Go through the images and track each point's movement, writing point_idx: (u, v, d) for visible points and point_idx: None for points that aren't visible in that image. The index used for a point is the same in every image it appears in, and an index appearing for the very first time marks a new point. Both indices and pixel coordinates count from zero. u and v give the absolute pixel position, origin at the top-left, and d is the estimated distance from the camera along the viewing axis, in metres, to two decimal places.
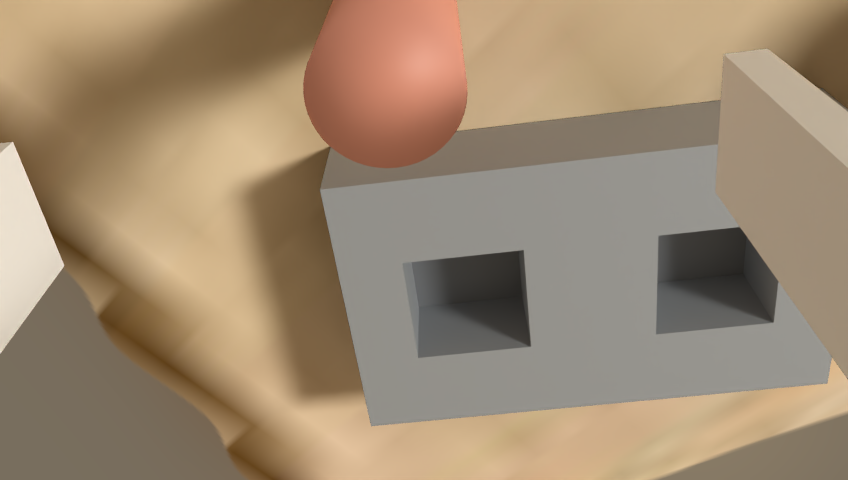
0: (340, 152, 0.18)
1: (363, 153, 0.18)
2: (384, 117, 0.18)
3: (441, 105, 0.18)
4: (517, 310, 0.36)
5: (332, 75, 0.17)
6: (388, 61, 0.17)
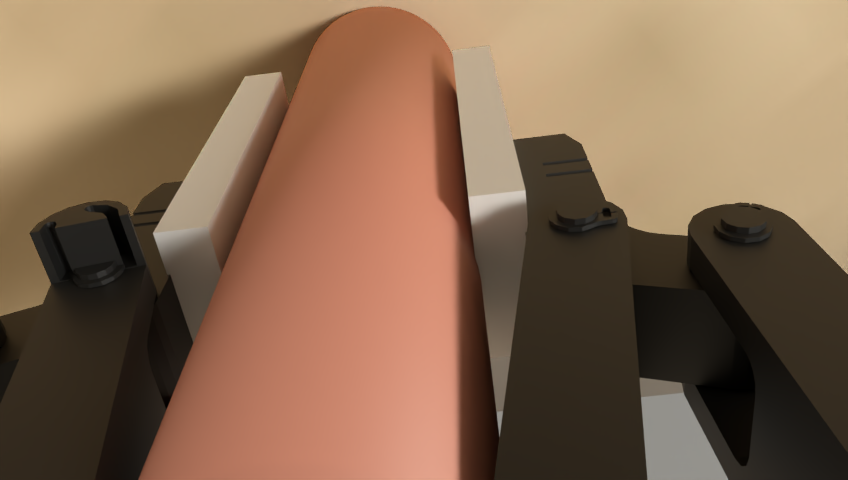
0: None
1: None
2: None
3: None
4: None
5: None
6: None
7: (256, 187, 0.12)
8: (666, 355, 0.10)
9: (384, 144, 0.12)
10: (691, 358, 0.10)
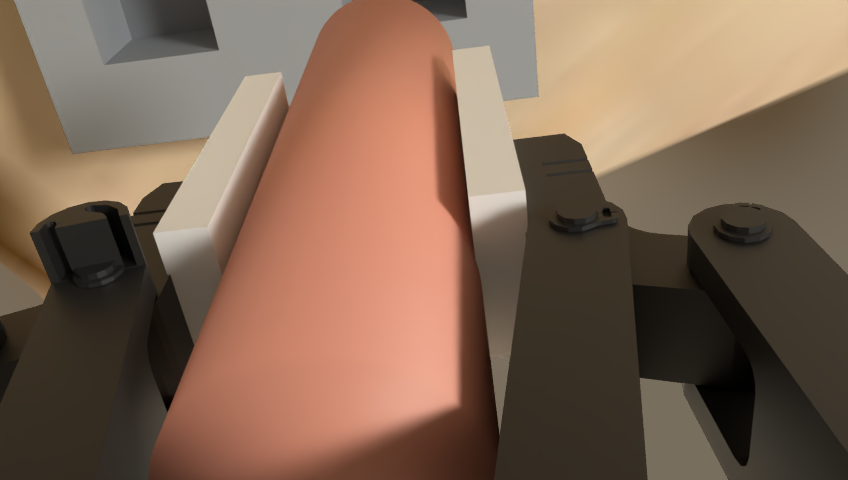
0: None
1: None
2: None
3: None
4: None
5: (210, 468, 0.08)
6: (331, 444, 0.08)
7: (271, 154, 0.13)
8: (667, 356, 0.10)
9: (388, 112, 0.13)
10: (692, 357, 0.10)
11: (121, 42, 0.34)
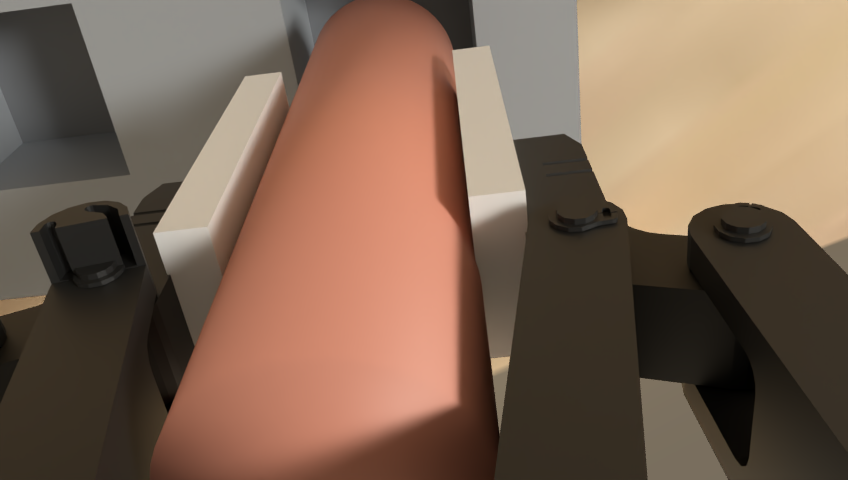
0: None
1: None
2: None
3: None
4: None
5: (210, 469, 0.08)
6: (331, 445, 0.08)
7: (271, 154, 0.14)
8: (666, 355, 0.10)
9: (388, 112, 0.13)
10: (692, 357, 0.10)
11: (2, 152, 0.25)
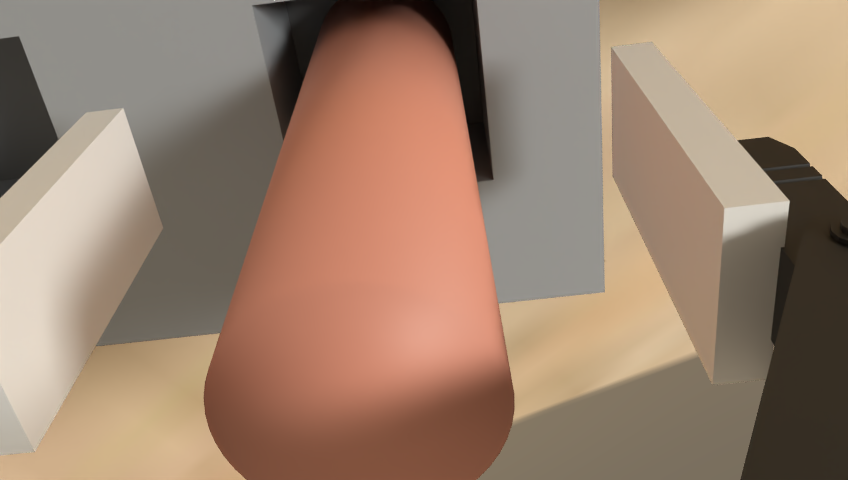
0: None
1: None
2: (359, 446, 0.10)
3: (465, 426, 0.10)
4: None
5: (257, 385, 0.09)
6: (364, 363, 0.09)
7: (289, 126, 0.15)
8: None
9: (397, 85, 0.14)
10: None
11: None
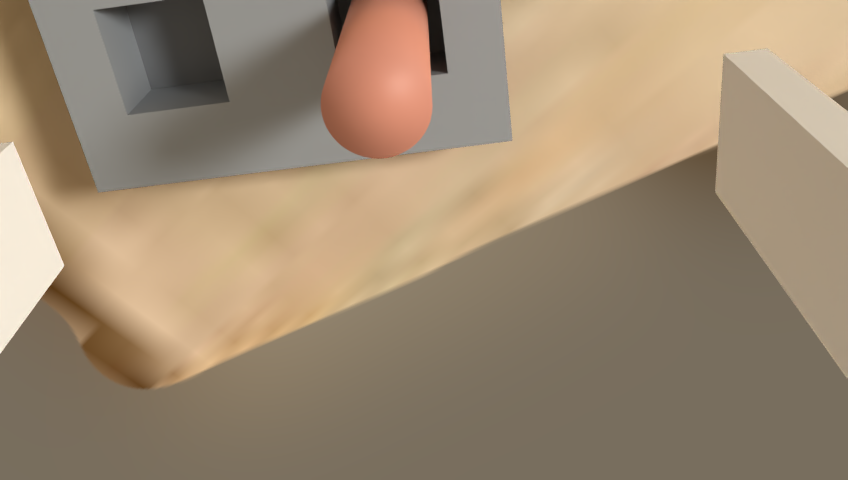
0: (345, 147, 0.26)
1: (361, 148, 0.27)
2: (376, 122, 0.26)
3: (415, 113, 0.26)
4: None
5: (340, 94, 0.26)
6: (378, 84, 0.25)
7: (342, 28, 0.31)
8: None
9: (393, 7, 0.30)
10: None
11: (142, 93, 0.39)
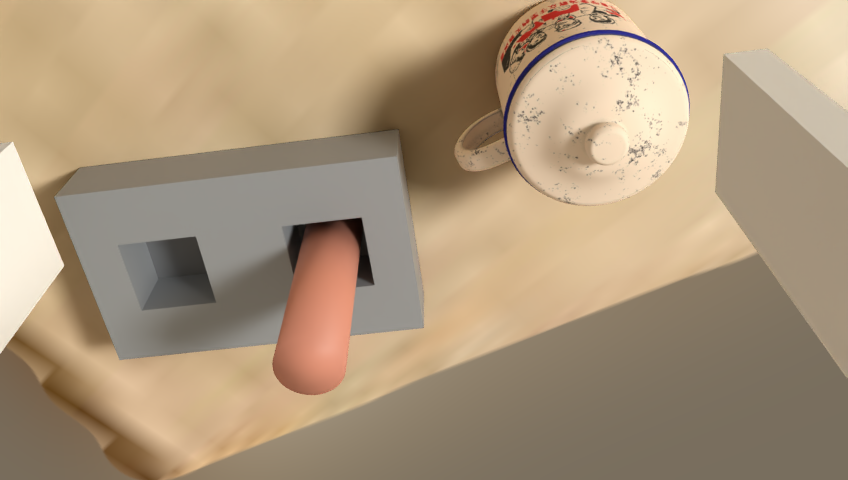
0: (290, 389, 0.40)
1: (300, 389, 0.40)
2: (309, 375, 0.40)
3: (334, 370, 0.40)
4: None
5: (285, 360, 0.39)
6: (309, 355, 0.39)
7: (293, 278, 0.45)
8: None
9: (327, 268, 0.44)
10: None
11: (152, 286, 0.52)
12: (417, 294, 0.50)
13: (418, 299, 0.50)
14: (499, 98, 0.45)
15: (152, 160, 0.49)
